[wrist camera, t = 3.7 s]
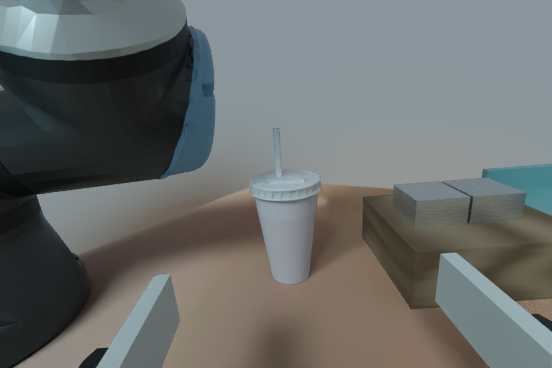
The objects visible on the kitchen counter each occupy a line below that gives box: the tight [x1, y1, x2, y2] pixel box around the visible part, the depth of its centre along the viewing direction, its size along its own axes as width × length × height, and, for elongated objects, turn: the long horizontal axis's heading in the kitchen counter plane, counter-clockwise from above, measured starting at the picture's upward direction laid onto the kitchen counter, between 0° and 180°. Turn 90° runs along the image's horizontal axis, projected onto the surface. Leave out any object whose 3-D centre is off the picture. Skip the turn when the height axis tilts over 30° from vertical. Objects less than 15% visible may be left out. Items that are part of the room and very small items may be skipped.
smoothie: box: [250, 128, 322, 284], centre depth 26 cm, size 6×6×14 cm
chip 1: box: [393, 182, 470, 228], centre depth 26 cm, size 4×4×2 cm
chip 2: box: [442, 178, 527, 224], centre depth 26 cm, size 4×4×2 cm
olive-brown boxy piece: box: [362, 195, 552, 309], centre depth 27 cm, size 14×12×5 cm
